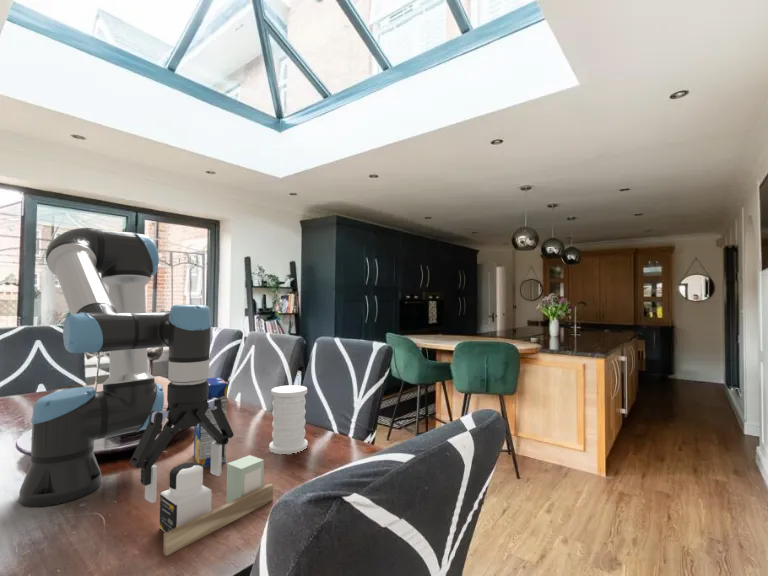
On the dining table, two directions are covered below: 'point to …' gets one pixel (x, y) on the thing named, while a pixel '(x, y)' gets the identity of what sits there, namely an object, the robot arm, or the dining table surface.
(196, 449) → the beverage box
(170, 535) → the rail
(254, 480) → the sage carton
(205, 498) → the medicine bottle
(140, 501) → the dining table surface
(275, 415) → the decorative container
